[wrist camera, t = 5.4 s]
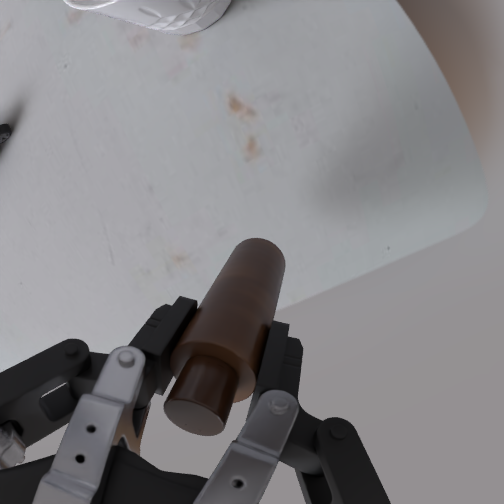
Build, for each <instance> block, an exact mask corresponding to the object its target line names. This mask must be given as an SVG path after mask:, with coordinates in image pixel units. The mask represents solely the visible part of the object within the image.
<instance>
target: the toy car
mask: <svg viewBox="0 0 504 504" xmlns="http://www.w3.org/2000/svg"><path fill="white" fill-rule="evenodd" d="M10 135H11V129H10V126H9V125H8V124H2V125H0V143H2V142H4V141H5V140H7V139H8V138H9V137H10Z"/></svg>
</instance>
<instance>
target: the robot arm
mask: <svg viewBox="0 0 504 504" xmlns="http://www.w3.org/2000/svg"><path fill="white" fill-rule="evenodd" d="M197 305H198V304H197V301H196V300H193V299H189V298H186V297H182V296H180V297H179V298H178V299H177V300H176V302H175V303H174V304H173V306H171V305H168V304H165V305H163V306H161V307H159V308H158V309H156V310H155V311H154V313H153V314H152V315H151V316H150V318H149V319H148V320H147V322H146V323H145V324H144V325H143V327H142V328H141V329H140V331H139V332H138V333H137V334H136V336H135V337H134V338H133V340H132V341H131V342H130V344H129V345H128V346H121V347H118V348H116V349H114V350H113V351H112V352H111V353H110V354H103V353H95V352H90V351H89V348H88V345H87V344H86V343H85V342H84V341H82V340H79V339H67V340H64V341H62V342H60V343H58V344H56V345H54V346H52V347H50V348H48V349H46V350H44V351H42V352H40V353H38V354H36V355H34V356H32V357H30V358H29V359H27V360H25V361H23V362H21V363H19V364H17V365H15V366H13V367H11V368H9V369H7V370H5V371H3V372H1V373H0V504H259V502H260V500H261V498H262V496H263V494H264V492H265V489H266V488H267V486H268V483H269V481H270V479H271V477H272V475H273V473H274V471H275V468H276V466H277V464H278V462H279V461H281V462H283V463H285V464H287V465H289V466H291V467H293V468H295V472H296V475H297V478H298V481H299V484H300V487H301V490H302V493H303V496H304V499H305V502H306V504H391V503H390V501H389V499H388V496H387V494H386V492H385V490H384V488H383V486H382V484H381V482H380V480H379V477H378V475H377V473H376V471H375V469H374V467H373V465H372V463H371V461H370V458H369V456H368V454H367V452H366V450H365V448H364V446H363V444H362V442H361V440H360V438H359V436H358V433H357V431H356V429H355V428H354V426H353V425H352V424H351V423H350V422H348V421H347V420H344V419H342V418H338V417H332V418H327V419H325V420H324V421H322V420H319V419H317V418H315V417H313V416H311V415H309V414H308V413H307V412H305V411H304V410H303V409H302V407H301V406H300V404H299V402H298V389H299V382H300V373H301V364H302V356H303V347H302V345H301V342H300V340H299V339H297V338H292V337H288V331H289V324H286V323H282V322H277V321H274V320H272V324H271V328H270V332H269V336H268V340H267V344H266V348H265V352H264V356H263V359H262V363H261V367H260V371H259V375H258V379H257V382H256V386H255V390H254V393H253V397H252V400H251V404H250V408H249V411H248V415H247V418H246V423H245V425H244V426H243V428H242V430H241V432H240V433H239V435H238V437H237V438H236V440H234V441H232V443H231V444H230V446H229V447H228V449H227V450H226V452H225V454H224V455H223V457H222V459H221V460H220V462H219V464H218V465H217V467H216V468H215V470H214V472H213V473H212V475H211V476H210V478H209V479H207V478H203V477H201V476H197V475H191V474H182V473H173V472H166V471H162V470H159V469H158V468H156V467H155V466H153V465H152V464H150V463H149V462H147V461H146V460H144V459H143V458H142V457H140V443H141V439H142V435H143V431H144V427H145V424H146V419H147V416H148V413H149V409H150V405H151V402H150V400H151V398H152V397H153V395H154V393H156V394H159V395H162V396H163V394H164V392H165V391H166V389H167V387H168V385H169V383H170V381H171V379H172V377H173V376H174V375H173V373H172V371H171V368H170V355H171V352H172V350H173V349H174V347H175V345H176V344H177V342H178V340H179V339H180V337H181V335H182V334H183V332H184V331H185V329H186V327H187V326H188V324H189V322H190V321H191V319H192V317H193V316H194V314H195V312H196V311H197ZM63 383H66V384H65V385H63V386H61V387H60V388H58V389H56V390H54V391H53V392H51V393H49V394H47V395H45V396H44V397H42V395H44V394H45V393H47V392H49V391H50V390H52V389H54V388H56V387H58V386H59V385H61V384H63ZM41 397H42V398H41ZM67 423H69V424H68V427H67V429H66V431H65V434H64V436H63V438H62V441H61V443H60V446H59V448H58V451H57V453H56V454H55V455H51V456H48V457H45V458H42V459H38V460H35V461H32V462H28V463H25V464H21V465H17V466H15V465H16V463H22V462H23V461H24V459H25V456H24V454H25V449H26V448H27V447H28V446H30V445H32V444H33V443H35V442H37V441H39V440H41V439H42V438H44V437H46V436H47V435H49V434H51V433H52V432H54V431H55V430H57V429H59V428H61V427H62V426H64V425H66V424H67Z"/></svg>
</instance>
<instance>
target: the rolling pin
mask: <svg viewBox="0 0 504 504" xmlns="http://www.w3.org/2000/svg"><path fill="white" fill-rule="evenodd" d="M284 272H285V259H284V256H283V254H282V252H281V250H280V249H279V248H278V247H277V246H276V245H275V244H273V243H272V242H270V241H268V240H265V239H261V238H251V239H247V240H244V241H242V242H241V243H239V244H238V245H237V246H236V248H235V249H234V251H233V252H232V254H231V255H230V257H229V259H228V260H227V262H226V264H225V265H224V267H223V268H222V270H221V272H220V273H219V275H218V276H217V278H216V280H215V281H214V283H213V285H212V286H211V288H210V289H209V291H208V293H207V294H206V296H205V298H204V299H203V301H202V303H201V304H200V306H199V307H198V309H197V311H196V312H195V314H194V316H193V317H192V319H191V321H190V322H189V324H188V326H187V327H186V329H185V331H184V332H183V334H182V335H181V337H180V339H179V340H178V342H177V344H176V345H175V347H174V349H173V350H172V352H171V355H170V368H171V371H172V373H173V375H174V377H175V378H176V379H177V380H176V382H175V384H174V386H173V387H172V390H171V391H170V393H169V395H168V397H167V399H166V401H165V403H164V412H165V414H166V416H167V417H168V418H169V420H170V421H172V422H173V423H174V424H176V425H177V426H178V427H180V428H182V429H183V430H185V431H188V432H190V433H194V434H197V435H202V436H214V435H217V434H219V433H221V432H222V431H223V430H224V428H225V425H226V422H227V419H228V416H229V413H230V410H231V407H232V404H233V403H236V402H240V401H242V400H244V399H247V398H248V397H249V396H250V395H251V394H252V393H253V392H254V390H255V386H256V382H257V379H258V375H259V371H260V367H261V363H262V359H263V356H264V352H265V348H266V344H267V340H268V336H269V332H270V328H271V324H272V320H273V318H274V314H275V310H276V306H277V302H278V298H279V293H280V289H281V285H282V280H283V276H284Z"/></svg>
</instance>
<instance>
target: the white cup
mask: <svg viewBox="0 0 504 504" xmlns="http://www.w3.org/2000/svg"><path fill="white" fill-rule="evenodd" d="M64 2H65V3H67V4H68V5H69V6H71V7H73V8H76V9H80V10H85V11H89V12H93V13H97V14H101V15H105V16H108V17H112V18H115V19H119V20H122V21H125V22H129V23H132V24H137V25H140V26H143V27H146V28H151V29H156V30H158V31H161V32H163V33H166V34H176V35H188V34H191V33H194V32H197V31H201V30H204V29H206V28H207V27H208V26H210V25H211V24H212V23H214V22H215V21H217V20H218V19H219V18H221V17H222V15H223V13H224V12H225V10H226V9H227V7H228V6H229V4H230V2H231V0H64Z"/></svg>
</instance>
